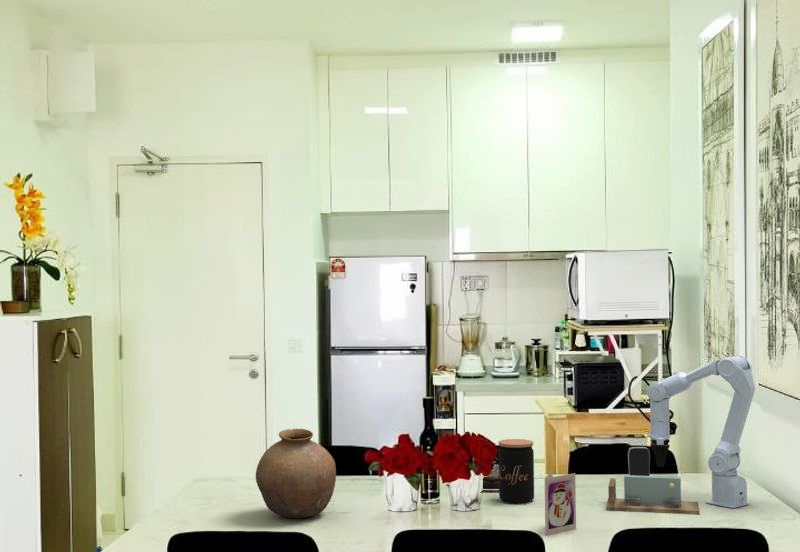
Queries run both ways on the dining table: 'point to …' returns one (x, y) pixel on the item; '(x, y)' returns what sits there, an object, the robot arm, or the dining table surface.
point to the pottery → (296, 475)
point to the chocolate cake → (492, 481)
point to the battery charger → (639, 461)
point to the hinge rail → (634, 505)
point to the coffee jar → (516, 471)
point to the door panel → (652, 489)
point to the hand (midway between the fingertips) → (660, 464)
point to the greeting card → (560, 503)
